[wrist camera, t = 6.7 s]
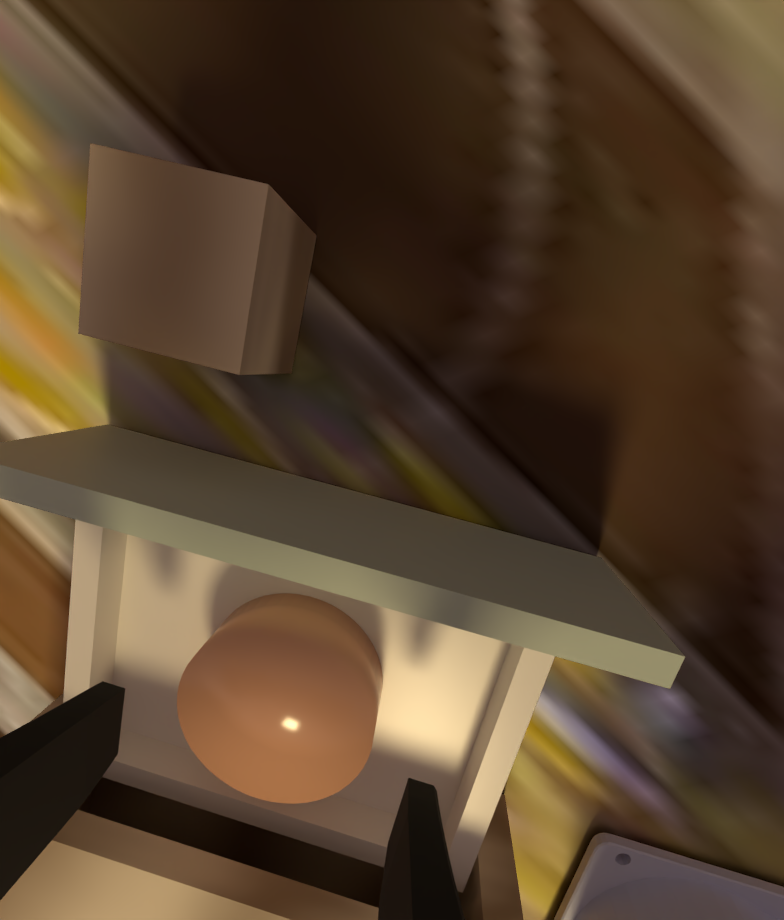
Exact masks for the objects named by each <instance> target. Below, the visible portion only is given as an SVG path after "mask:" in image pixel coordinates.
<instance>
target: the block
mask: <svg viewBox="0 0 784 920" xmlns="http://www.w3.org/2000/svg"><path fill="white" fill-rule="evenodd" d="M316 237H317V236H316V234H315V233H314V232H313V231H312V230H311V229H310V228H309V227H308V226H307V225H306V224H305V223H304V222H303V221H302V220H301V218H300V217H299V216H298V215H297V214H296V213H295V212H294V211H293V210H292V209H291V208H290V207H289V206H288V205H287V203H286V202H285V201H284V200H283V199H282V198H281V197H280V196H279V195H278V194H277V193H276V192H275V191H274V190H273V188H272V187H271V186H270V185H269V184H265V183H261V182H256V181H252V180H248V179H243V178H239V177H235V176H230V175H226V174H222V173H217V172H213V171H209V170H204V169H200V168H196V167H191V166H187V165H183V164H178V163H174V162H170V161H165V160H161V159H157V158H152V157H148V156H144V155H139V154H135V153H131V152H126V151H122V150H118V149H113V148H109V147H105V146H100V145H96V144H92V143H90V158H89V173H88V189H87V205H86V221H85V237H84V253H83V269H82V285H81V301H80V317H79V332H78V334H82V335H86V336H90V337H94V338H98V339H102V340H105V341H109V342H113V343H117V344H121V345H125V346H129V347H133V348H136V349H140V350H144V351H148V352H152V353H156V354H160V355H164V356H167V357H171V358H175V359H179V360H183V361H187V362H191V363H194V364H198V365H202V366H206V367H210V368H214V369H218V370H222V371H225V372H229V373H233V374H237V375H257V374H287V373H292V368H293V363H294V357H295V352H296V346H297V341H298V336H299V330H300V325H301V319H302V314H303V308H304V303H305V297H306V292H307V286H308V281H309V275H310V270H311V264H312V259H313V253H314V248H315V242H316Z"/></svg>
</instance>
